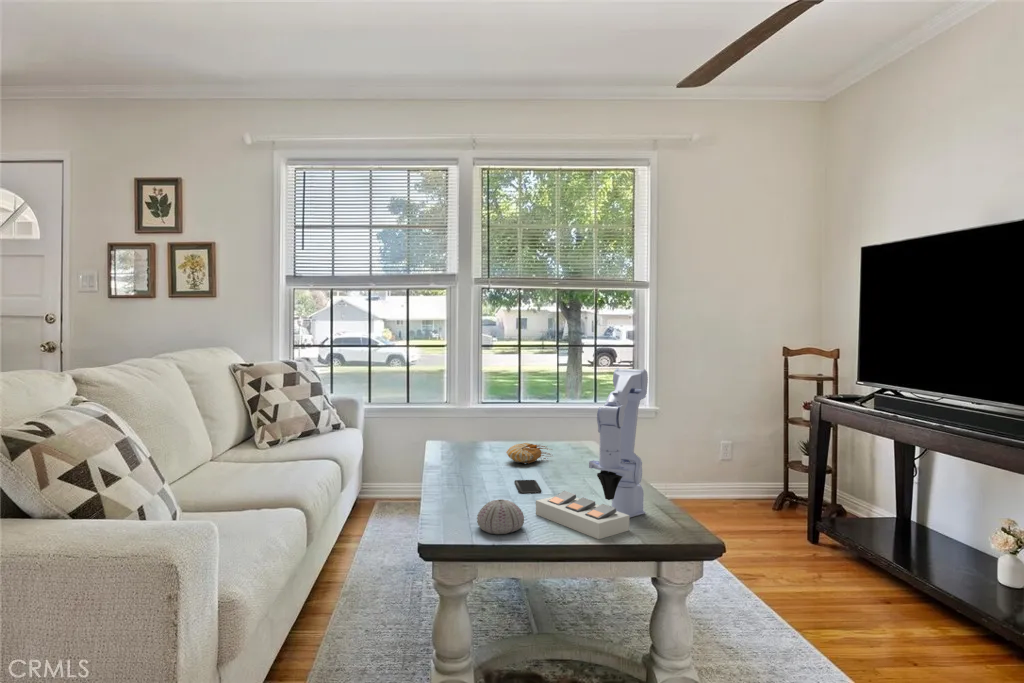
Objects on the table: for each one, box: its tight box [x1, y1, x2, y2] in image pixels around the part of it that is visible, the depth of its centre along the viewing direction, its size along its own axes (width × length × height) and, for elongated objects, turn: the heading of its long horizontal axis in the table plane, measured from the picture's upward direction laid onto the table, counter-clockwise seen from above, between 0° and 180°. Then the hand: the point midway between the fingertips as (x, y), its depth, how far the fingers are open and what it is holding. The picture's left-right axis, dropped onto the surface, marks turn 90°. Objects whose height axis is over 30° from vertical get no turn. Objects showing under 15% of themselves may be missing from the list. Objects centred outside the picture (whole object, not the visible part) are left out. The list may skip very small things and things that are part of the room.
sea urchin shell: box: [476, 498, 525, 535], centre depth 163 cm, size 13×14×8 cm
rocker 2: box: [585, 503, 616, 520], centre depth 162 cm, size 7×5×2 cm
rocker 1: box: [548, 490, 577, 505], centre depth 175 cm, size 7×5×2 cm
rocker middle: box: [566, 497, 597, 512], centre depth 169 cm, size 7×5×2 cm
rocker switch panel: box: [535, 496, 630, 540], centre depth 169 cm, size 12×26×4 cm, turn 37°
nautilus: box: [505, 442, 554, 464], centre depth 245 cm, size 8×22×15 cm
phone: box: [514, 479, 542, 494], centre depth 206 cm, size 8×1×15 cm
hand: (609, 498), depth 161 cm, fingers closed
